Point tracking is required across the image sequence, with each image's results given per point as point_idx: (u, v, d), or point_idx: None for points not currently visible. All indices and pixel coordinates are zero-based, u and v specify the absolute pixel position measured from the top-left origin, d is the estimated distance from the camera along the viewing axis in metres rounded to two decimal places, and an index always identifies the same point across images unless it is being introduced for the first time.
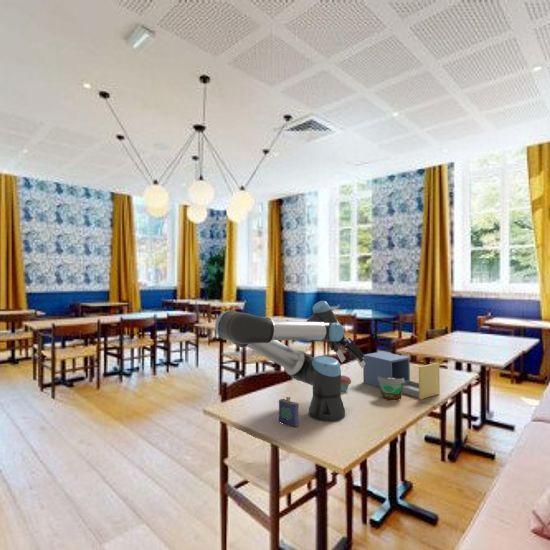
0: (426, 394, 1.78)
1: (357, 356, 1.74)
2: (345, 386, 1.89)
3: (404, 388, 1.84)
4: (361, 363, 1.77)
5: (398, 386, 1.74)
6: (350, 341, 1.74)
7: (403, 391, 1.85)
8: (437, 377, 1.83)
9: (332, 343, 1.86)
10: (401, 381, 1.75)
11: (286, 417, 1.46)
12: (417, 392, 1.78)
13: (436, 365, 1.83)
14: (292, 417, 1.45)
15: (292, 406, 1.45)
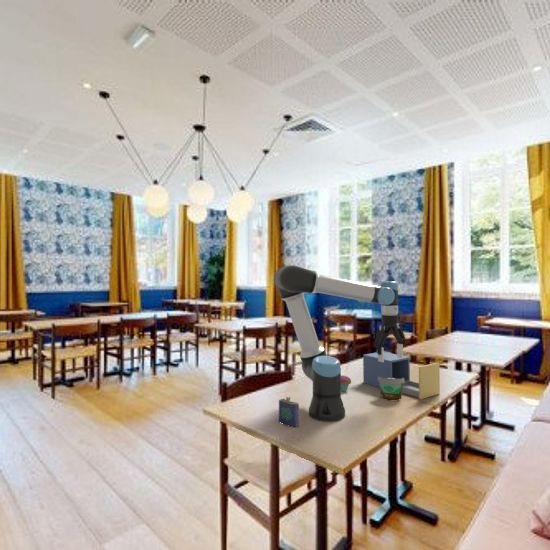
0: (426, 394, 1.78)
1: None
2: (345, 386, 1.89)
3: (404, 388, 1.84)
4: (379, 356, 1.73)
5: (398, 386, 1.74)
6: (380, 329, 1.73)
7: (403, 391, 1.85)
8: (437, 377, 1.83)
9: (398, 333, 1.81)
10: (401, 381, 1.75)
11: (286, 417, 1.46)
12: (417, 392, 1.78)
13: (436, 365, 1.83)
14: (292, 417, 1.45)
15: (292, 406, 1.45)
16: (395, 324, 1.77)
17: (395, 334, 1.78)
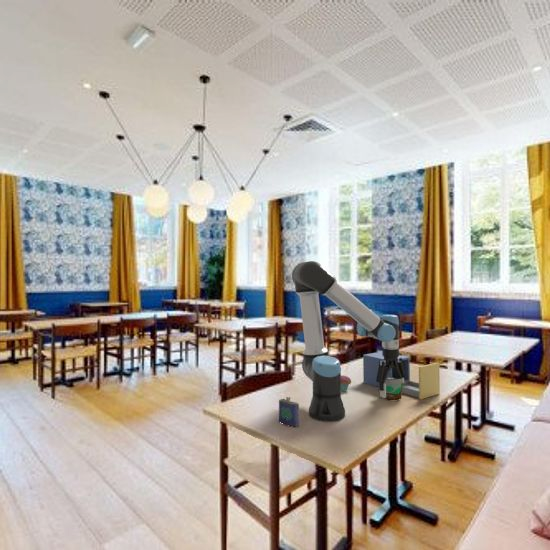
0: (426, 394, 1.78)
1: None
2: (345, 386, 1.89)
3: (404, 388, 1.84)
4: (381, 392, 1.74)
5: (398, 386, 1.74)
6: (381, 364, 1.72)
7: (403, 391, 1.85)
8: (437, 377, 1.83)
9: (398, 367, 1.80)
10: (401, 381, 1.75)
11: (286, 417, 1.46)
12: (417, 392, 1.78)
13: (436, 365, 1.83)
14: (292, 417, 1.45)
15: (292, 406, 1.45)
16: (396, 357, 1.77)
17: (395, 368, 1.78)
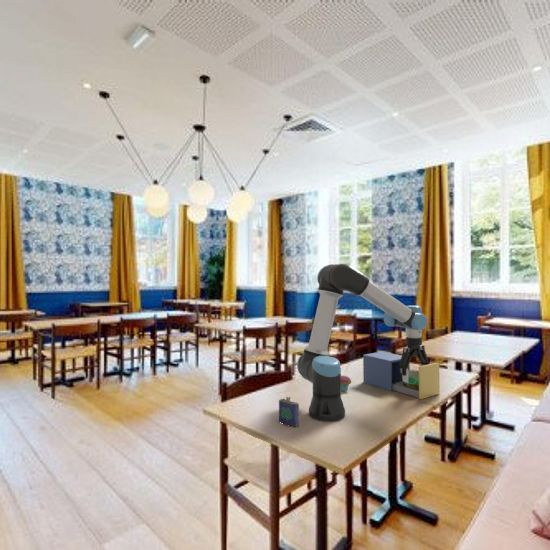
0: (426, 394, 1.78)
1: None
2: (345, 386, 1.89)
3: (404, 388, 1.84)
4: (404, 377, 1.83)
5: None
6: (405, 351, 1.83)
7: (403, 391, 1.85)
8: (437, 377, 1.83)
9: (421, 354, 1.91)
10: None
11: (286, 417, 1.46)
12: (417, 392, 1.78)
13: (436, 365, 1.83)
14: (292, 417, 1.45)
15: (292, 406, 1.45)
16: (418, 346, 1.87)
17: (418, 355, 1.88)
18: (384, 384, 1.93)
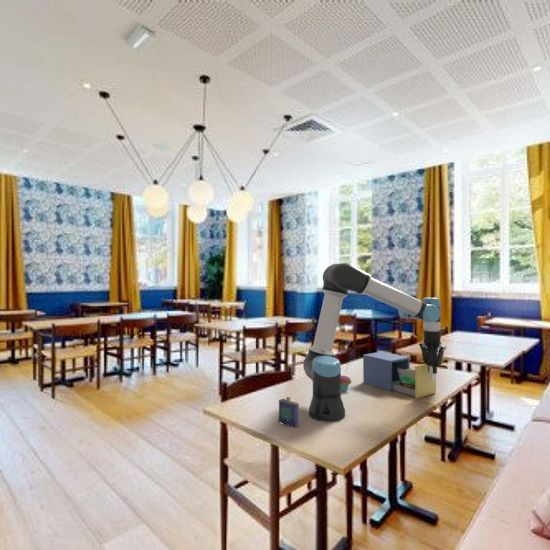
0: (423, 393, 1.80)
1: (434, 366, 1.76)
2: (345, 386, 1.89)
3: (401, 387, 1.86)
4: (433, 376, 1.77)
5: None
6: (443, 350, 1.74)
7: (400, 390, 1.87)
8: None
9: (424, 352, 1.81)
10: None
11: (286, 417, 1.46)
12: (413, 391, 1.80)
13: None
14: (292, 417, 1.45)
15: (292, 406, 1.45)
16: None
17: None
18: (384, 384, 1.93)
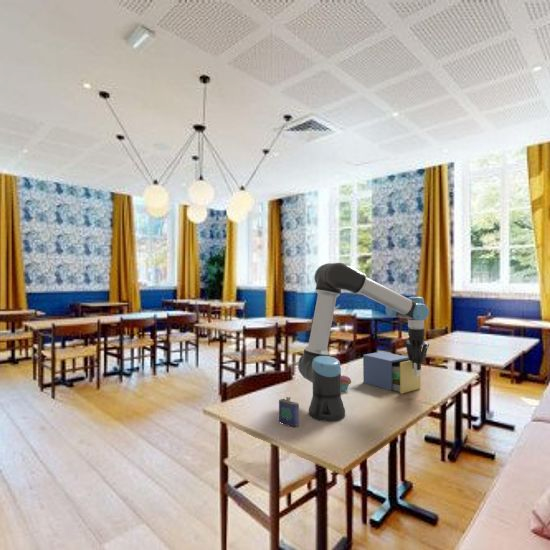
0: (407, 389, 1.87)
1: (418, 362, 1.83)
2: (345, 386, 1.89)
3: None
4: (417, 372, 1.85)
5: None
6: (427, 347, 1.81)
7: None
8: None
9: (409, 349, 1.88)
10: None
11: (286, 417, 1.46)
12: (398, 387, 1.87)
13: None
14: (292, 417, 1.45)
15: (292, 406, 1.45)
16: None
17: (415, 348, 1.86)
18: (384, 384, 1.93)
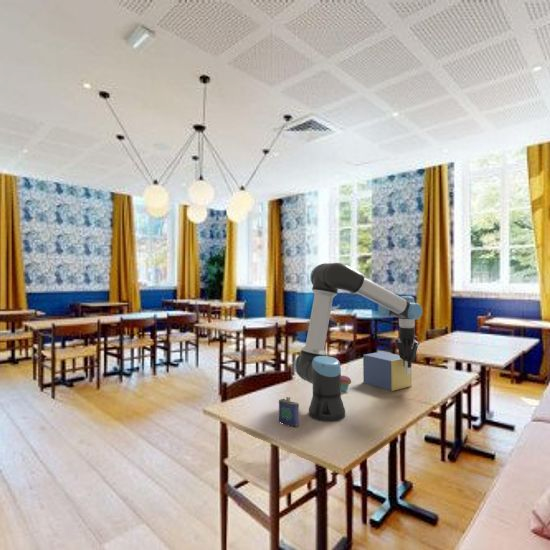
0: (398, 386, 1.91)
1: (408, 360, 1.88)
2: (345, 386, 1.89)
3: None
4: (408, 369, 1.89)
5: None
6: (417, 345, 1.86)
7: None
8: None
9: (400, 347, 1.93)
10: None
11: (286, 417, 1.46)
12: None
13: None
14: (292, 417, 1.45)
15: (292, 406, 1.45)
16: None
17: (406, 346, 1.91)
18: (384, 384, 1.93)
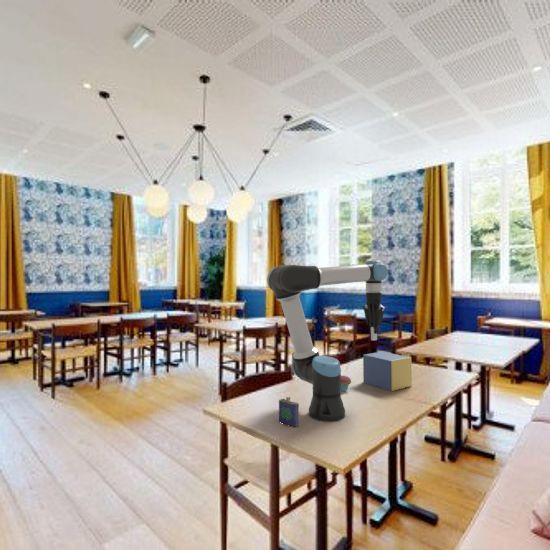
0: (399, 386, 1.91)
1: (375, 326, 1.83)
2: (345, 386, 1.89)
3: None
4: (374, 336, 1.84)
5: None
6: (383, 310, 1.80)
7: None
8: (409, 370, 1.96)
9: (367, 314, 1.88)
10: None
11: (286, 417, 1.46)
12: None
13: (409, 359, 1.96)
14: (292, 417, 1.45)
15: (292, 406, 1.45)
16: None
17: None
18: (384, 384, 1.93)
